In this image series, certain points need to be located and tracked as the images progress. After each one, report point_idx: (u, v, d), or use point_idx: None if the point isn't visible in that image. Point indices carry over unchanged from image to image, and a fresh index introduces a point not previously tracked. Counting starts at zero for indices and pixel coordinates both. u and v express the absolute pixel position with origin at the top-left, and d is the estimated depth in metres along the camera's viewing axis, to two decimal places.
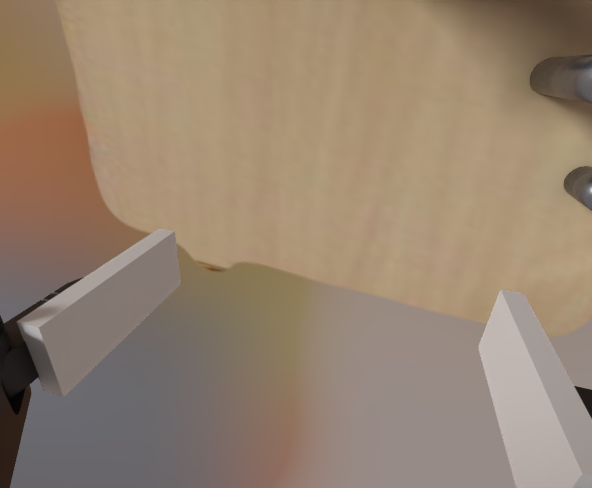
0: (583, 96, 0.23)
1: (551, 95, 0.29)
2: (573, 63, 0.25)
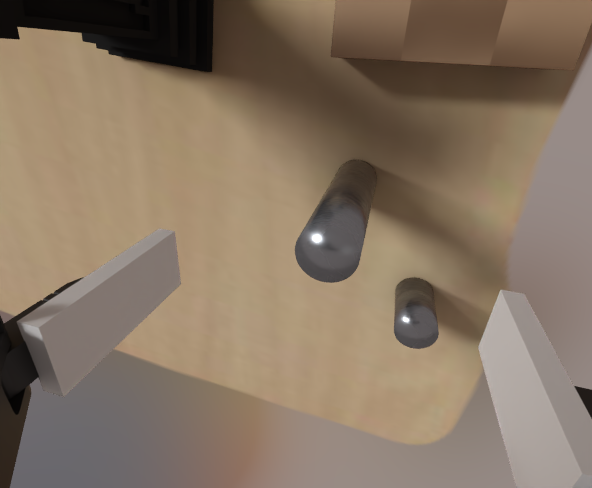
0: None
1: None
2: (321, 200, 0.20)
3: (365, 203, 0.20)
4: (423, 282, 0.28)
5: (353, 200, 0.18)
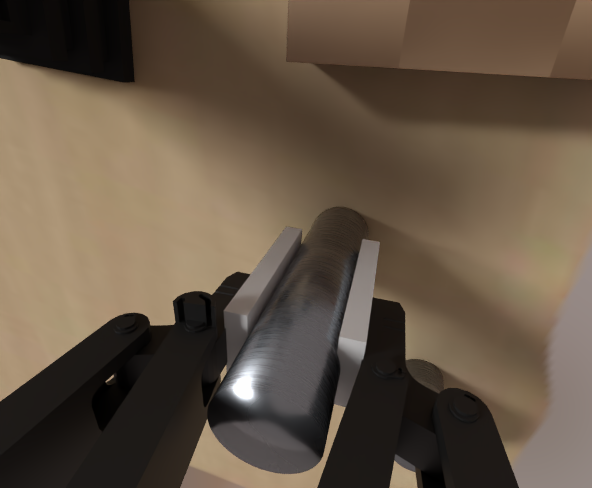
0: None
1: None
2: (274, 293, 0.12)
3: (346, 300, 0.12)
4: (430, 367, 0.21)
5: (324, 303, 0.11)
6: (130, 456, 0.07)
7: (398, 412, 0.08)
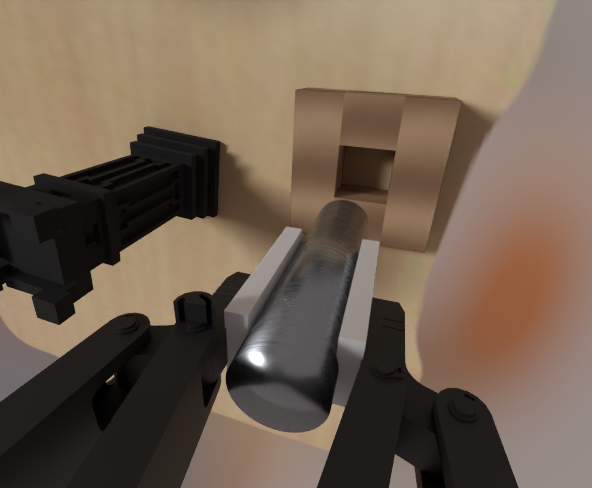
0: None
1: None
2: (283, 275, 0.13)
3: (349, 282, 0.13)
4: None
5: (330, 284, 0.12)
6: (130, 456, 0.07)
7: (397, 412, 0.08)
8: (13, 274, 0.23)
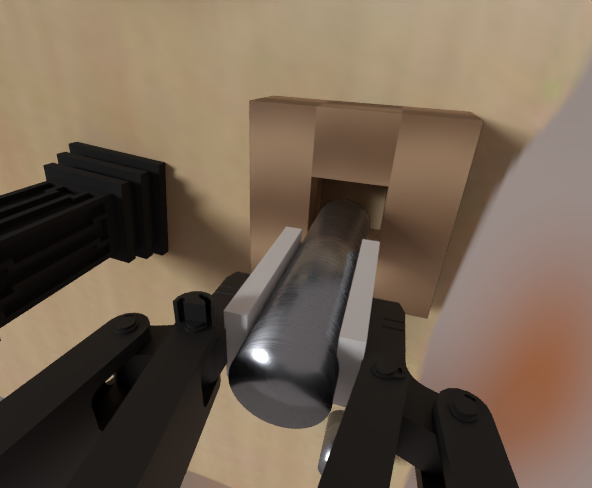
0: None
1: None
2: (284, 274, 0.13)
3: (350, 280, 0.13)
4: None
5: (331, 282, 0.12)
6: (130, 456, 0.07)
7: (398, 412, 0.08)
8: None
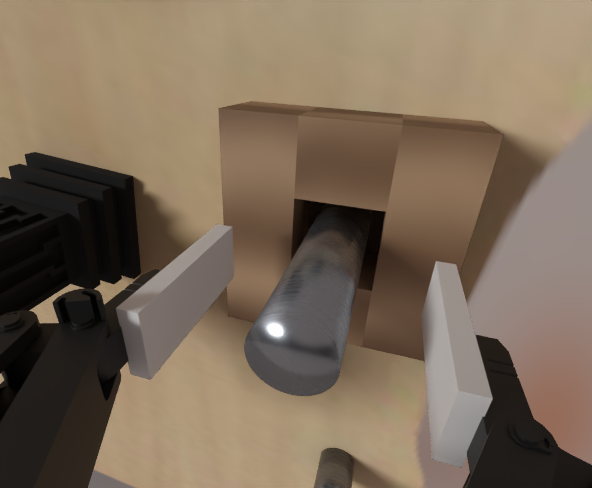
0: None
1: None
2: (293, 259, 0.14)
3: (354, 265, 0.14)
4: (343, 455, 0.30)
5: (336, 265, 0.13)
6: (26, 452, 0.07)
7: None
8: None
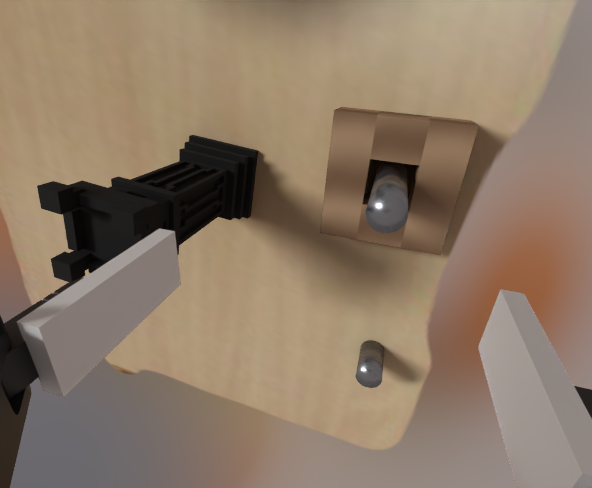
0: None
1: None
2: (376, 184, 0.29)
3: (406, 187, 0.29)
4: (377, 344, 0.45)
5: (400, 184, 0.28)
6: None
7: None
8: (95, 262, 0.27)
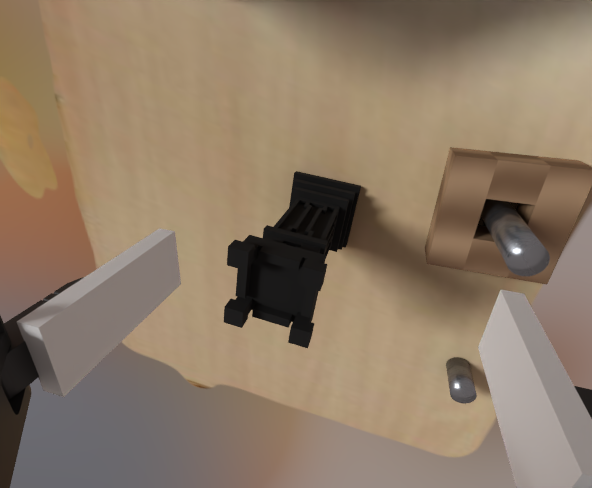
0: None
1: None
2: (502, 226, 0.32)
3: None
4: (464, 360, 0.48)
5: (528, 227, 0.31)
6: None
7: None
8: (258, 307, 0.29)
